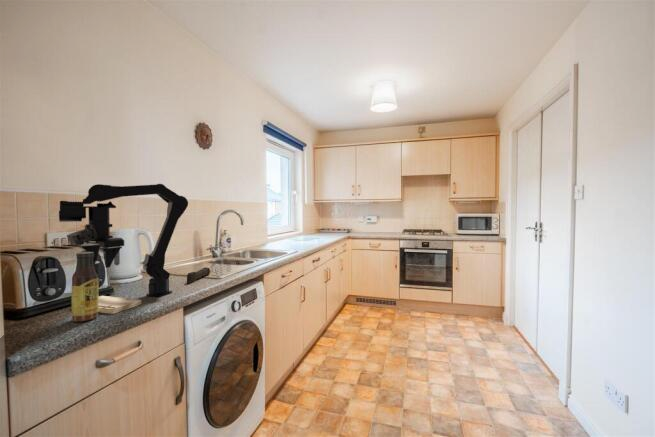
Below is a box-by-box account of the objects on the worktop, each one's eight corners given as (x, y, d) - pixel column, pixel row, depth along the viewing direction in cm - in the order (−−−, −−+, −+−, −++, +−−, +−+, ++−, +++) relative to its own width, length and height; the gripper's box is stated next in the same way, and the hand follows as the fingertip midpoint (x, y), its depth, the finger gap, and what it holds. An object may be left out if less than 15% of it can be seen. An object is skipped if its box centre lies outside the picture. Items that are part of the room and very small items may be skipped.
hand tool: (202, 275, 149) (202, 265, 149) (210, 275, 148) (210, 265, 148) (181, 284, 130) (180, 274, 130) (189, 284, 129) (189, 274, 129)
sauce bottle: (88, 322, 85) (87, 254, 85) (65, 323, 85) (64, 254, 84) (104, 314, 92) (102, 251, 91) (83, 315, 91) (81, 251, 91)
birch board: (102, 299, 107) (102, 295, 107) (141, 304, 102) (141, 299, 102) (70, 309, 97) (69, 304, 97) (111, 314, 92) (111, 309, 92)
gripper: (56, 221, 98) (56, 268, 99) (86, 222, 90) (87, 273, 91) (94, 220, 108) (94, 262, 109) (125, 221, 100) (125, 267, 101)
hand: (99, 266), depth 102 cm, fingers open, 9 cm apart
